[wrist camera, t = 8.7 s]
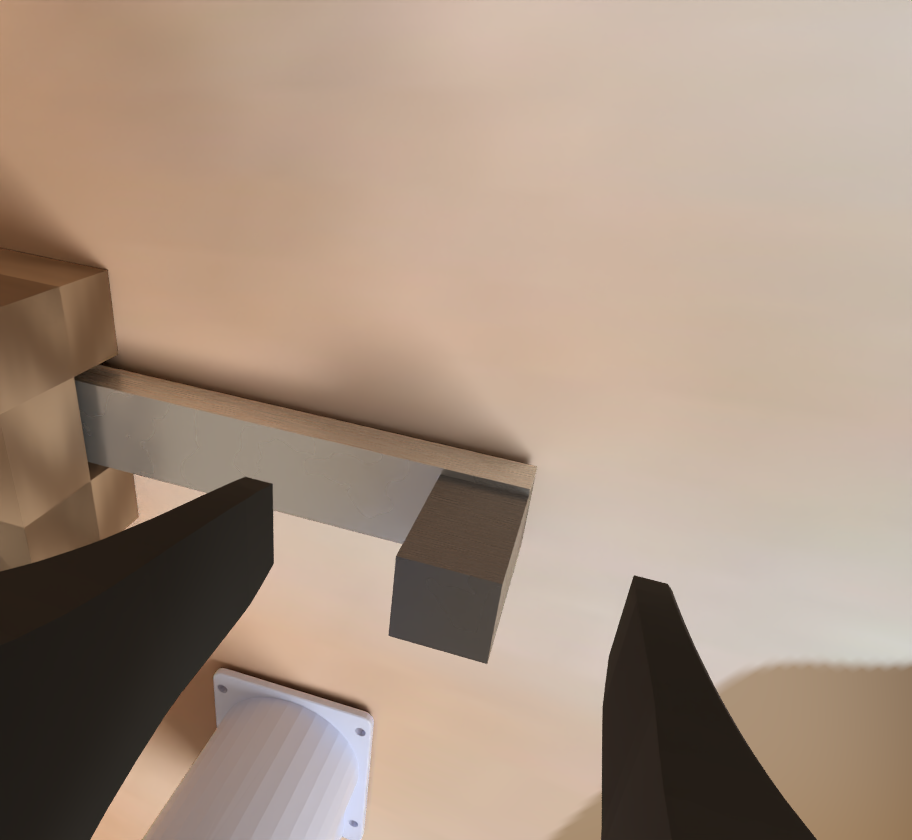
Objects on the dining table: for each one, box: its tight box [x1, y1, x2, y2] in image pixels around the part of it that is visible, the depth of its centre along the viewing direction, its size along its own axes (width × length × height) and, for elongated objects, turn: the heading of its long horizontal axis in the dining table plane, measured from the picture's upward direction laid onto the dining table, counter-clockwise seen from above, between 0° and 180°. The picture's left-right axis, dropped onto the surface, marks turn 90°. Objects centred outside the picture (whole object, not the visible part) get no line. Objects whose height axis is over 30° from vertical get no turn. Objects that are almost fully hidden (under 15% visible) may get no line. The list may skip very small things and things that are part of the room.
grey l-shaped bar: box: [74, 364, 537, 664], centre depth 24 cm, size 4×24×6 cm, turn 83°
